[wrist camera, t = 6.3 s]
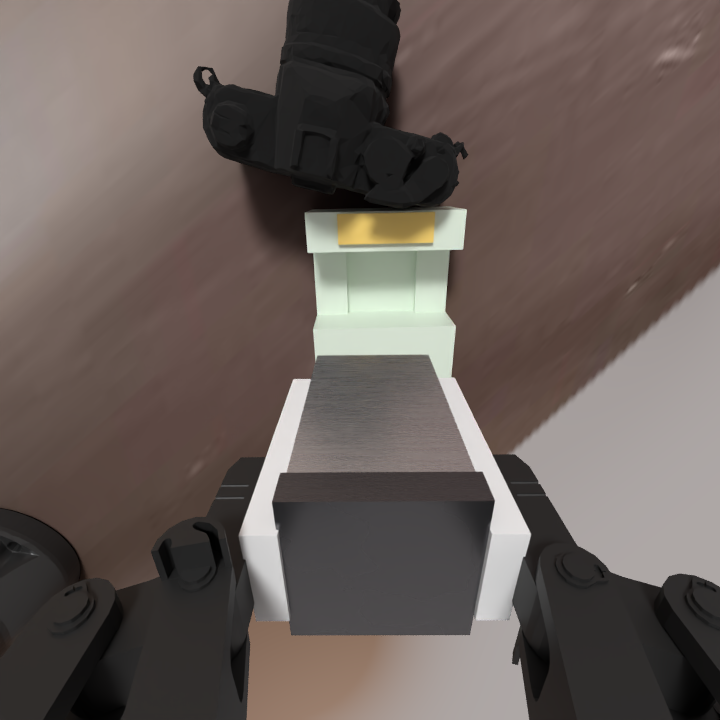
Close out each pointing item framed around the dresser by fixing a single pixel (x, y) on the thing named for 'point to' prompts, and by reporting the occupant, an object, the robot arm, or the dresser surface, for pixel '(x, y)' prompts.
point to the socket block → (384, 281)
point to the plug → (380, 504)
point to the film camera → (333, 111)
